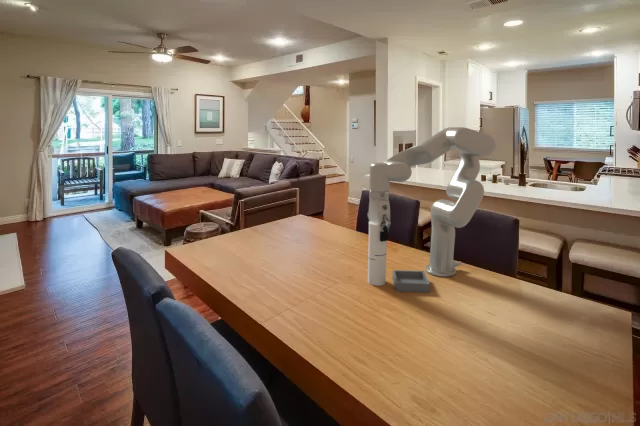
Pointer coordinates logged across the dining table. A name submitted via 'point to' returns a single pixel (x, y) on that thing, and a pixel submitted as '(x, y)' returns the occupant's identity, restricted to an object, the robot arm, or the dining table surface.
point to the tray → (410, 281)
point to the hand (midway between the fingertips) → (377, 237)
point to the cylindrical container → (376, 256)
